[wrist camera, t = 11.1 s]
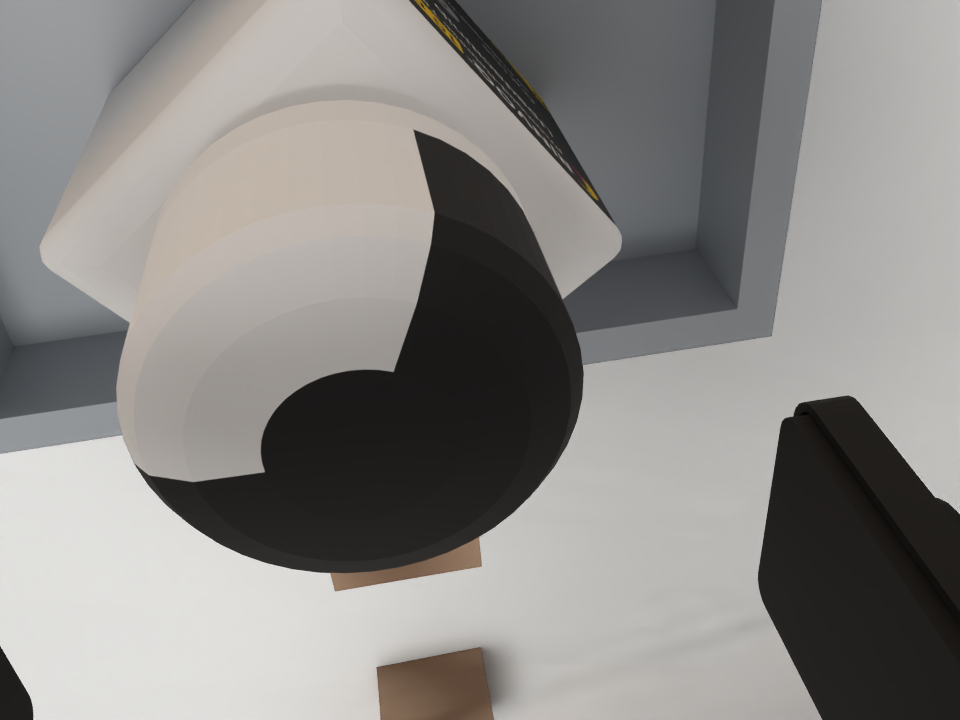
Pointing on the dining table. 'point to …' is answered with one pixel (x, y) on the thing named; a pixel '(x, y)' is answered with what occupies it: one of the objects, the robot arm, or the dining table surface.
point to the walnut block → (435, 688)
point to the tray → (572, 103)
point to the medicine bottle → (335, 276)
